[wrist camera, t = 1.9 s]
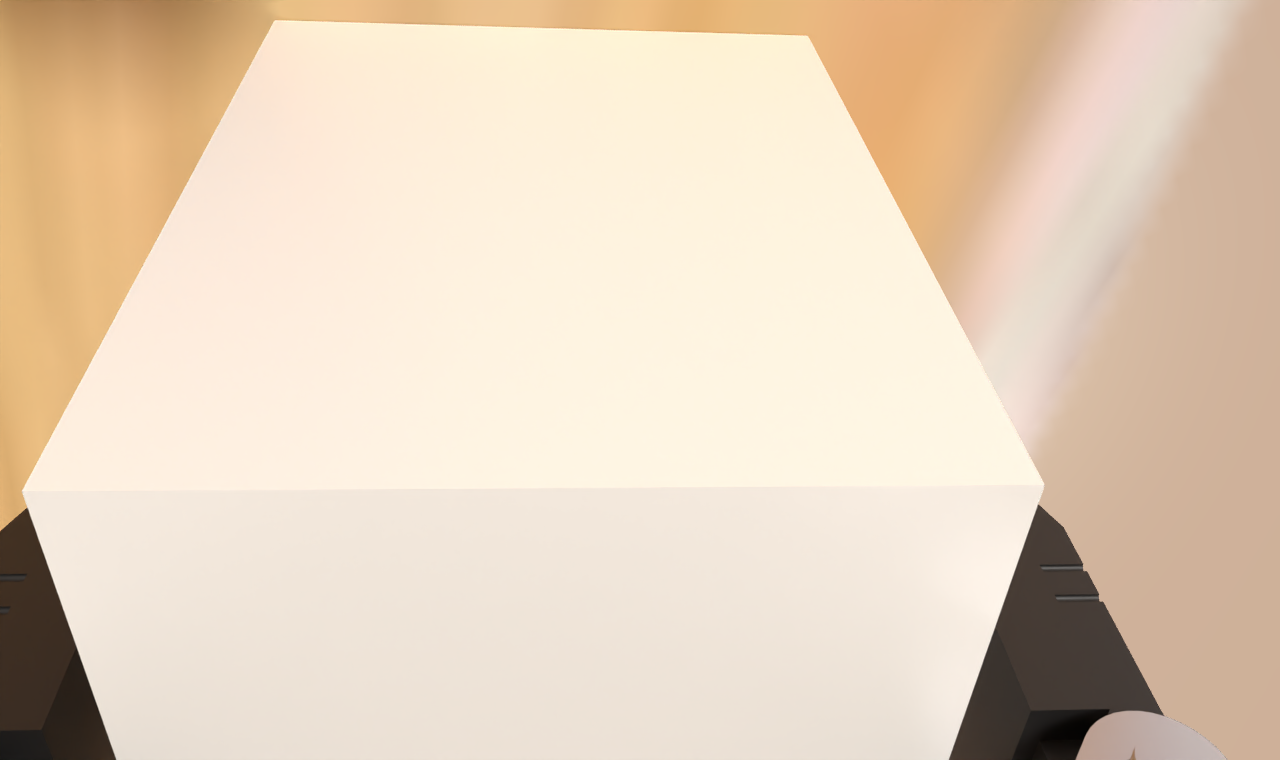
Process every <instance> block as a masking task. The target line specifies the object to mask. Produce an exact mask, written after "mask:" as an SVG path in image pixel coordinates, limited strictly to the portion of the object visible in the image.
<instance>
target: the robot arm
mask: <svg viewBox="0 0 1280 760" xmlns="http://www.w3.org/2000/svg"><path fill="white" fill-rule="evenodd" d="M0 760H116V757H115V754H114V752H113V749H112V746H111V743H110V740H109V737H108V734H107V732H106V729H105V726H104V723H103V720H102V717H101V715H100V712H99V709H98V706H97V703H96V700H95V698H94V695H93V692H92V689H91V686H90V683H89V681H88V678H87V675H86V672H85V669H84V666H83V664H82V661H81V658H80V655H79V652H78V649H77V646H76V644H75V641H74V638H73V635H72V632H71V629H70V627H69V624H68V621H67V618H66V615H65V612H64V610H63V607H62V604H61V601H60V598H59V595H58V593H57V590H56V587H55V584H54V581H53V578H52V576H51V573H50V570H49V567H48V564H47V561H46V558H45V556H44V553H43V550H42V547H41V544H40V541H39V539H38V536H37V533H36V530H35V527H34V524H33V522H32V519H31V516H30V513H29V510H28V507H27V508H26V509H25V510H24V511H23V512H22V513H21V514H19V515H18V516H17V517H16V518H15V519H14V520H13V521H11V522H10V523H9V524H8V525H7V526H6V527H5V528H3V529H2V530H1V531H0ZM949 760H1227V758H1226V757H1225V756H1224V755H1223V754H1222V753H1221V752H1220V751H1219V750H1218V749H1217V747H1216V746H1214V745H1213V744H1212V743H1211V742H1210V741H1209V740H1207V739H1206V738H1205V737H1203V736H1202V735H1201V734H1199V733H1198V732H1196V731H1195V730H1193V729H1192V728H1190V727H1188V726H1186V725H1184V724H1182V723H1180V722H1178V721H1176V720H1173V719H1170V718H1168V717H1165V716H1164V715H1163V713H1162V711H1161V710H1160V708H1159V706H1158V704H1157V702H1156V700H1155V698H1154V697H1153V695H1152V693H1151V691H1150V689H1149V687H1148V685H1147V683H1146V681H1145V680H1144V678H1143V676H1142V674H1141V672H1140V670H1139V668H1138V666H1137V665H1136V663H1135V661H1134V659H1133V657H1132V655H1131V654H1130V651H1129V650H1128V648H1127V646H1126V644H1125V642H1124V640H1123V638H1122V636H1121V634H1120V633H1119V631H1118V629H1117V627H1116V625H1115V623H1114V621H1113V620H1112V618H1111V616H1110V614H1109V612H1108V610H1107V608H1106V606H1105V604H1104V603H1103V602H1100V601H1099V593H1098V591H1097V589H1096V587H1095V586H1094V584H1093V582H1092V580H1091V578H1090V576H1089V574H1088V572H1087V571H1083V563H1082V561H1081V559H1080V557H1079V555H1078V554H1077V552H1076V550H1075V548H1074V546H1073V544H1072V543H1071V541H1070V539H1069V537H1068V535H1067V533H1066V531H1065V529H1064V527H1063V526H1061V525H1060V524H1059V523H1058V522H1057V521H1056V520H1055V519H1054V518H1053V517H1052V516H1050V515H1049V514H1048V513H1047V512H1046V511H1045V510H1044V509H1043V508H1042V507H1041V506H1039V505H1038V506H1037V509H1036V511H1035V514H1034V517H1033V520H1032V523H1031V526H1030V529H1029V532H1028V534H1027V537H1026V540H1025V543H1024V546H1023V549H1022V552H1021V554H1020V557H1019V560H1018V563H1017V566H1016V569H1015V572H1014V574H1013V577H1012V580H1011V583H1010V586H1009V589H1008V592H1007V594H1006V597H1005V600H1004V603H1003V606H1002V609H1001V612H1000V614H999V617H998V620H997V623H996V626H995V629H994V632H993V634H992V637H991V640H990V643H989V646H988V649H987V652H986V655H985V657H984V660H983V663H982V666H981V669H980V672H979V675H978V677H977V680H976V683H975V686H974V689H973V692H972V695H971V697H970V700H969V703H968V706H967V709H966V712H965V715H964V717H963V720H962V723H961V726H960V729H959V732H958V735H957V737H956V740H955V743H954V746H953V749H952V752H951V755H950V758H949Z"/></svg>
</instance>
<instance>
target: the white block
mask: <svg viewBox="0 0 1280 760" xmlns="http://www.w3.org/2000/svg"><path fill="white" fill-rule="evenodd" d="M1044 486H1045V485H1044V483H1043V481H1042V479H1041V477H1040V475H1039V473H1038V471H1037V469H1036V468H1035V466H1034V464H1033V462H1032V460H1031V458H1030V456H1029V454H1028V452H1027V450H1026V449H1025V447H1024V445H1023V443H1022V441H1021V439H1020V437H1019V435H1018V433H1017V432H1016V430H1015V428H1014V426H1013V424H1012V422H1011V420H1010V418H1009V416H1008V414H1007V413H1006V411H1005V409H1004V407H1003V405H1002V403H1001V401H1000V399H999V397H998V395H997V394H996V392H995V390H994V388H993V386H992V384H991V382H990V380H989V378H988V377H987V375H986V373H985V371H984V369H983V367H982V365H981V363H980V361H979V359H978V358H977V356H976V354H975V352H974V350H973V348H972V346H971V344H970V342H969V341H968V339H967V337H966V335H965V333H964V331H963V329H962V327H961V325H960V323H959V322H958V320H957V318H956V316H955V314H954V312H953V310H952V308H951V306H950V305H949V303H948V301H947V299H946V297H945V295H944V293H943V291H942V289H941V287H940V286H939V284H938V282H937V280H936V278H935V276H934V274H933V272H932V270H931V268H930V267H929V265H928V263H927V261H926V259H925V257H924V255H923V253H922V251H921V250H920V248H919V246H918V244H917V242H916V240H915V238H914V236H913V234H912V232H911V231H910V229H909V227H908V225H907V223H906V221H905V219H904V217H903V215H902V214H901V212H900V210H899V208H898V206H897V204H896V202H895V200H894V198H893V196H892V195H891V193H890V191H889V189H888V187H887V185H886V183H885V181H884V179H883V177H882V176H881V174H880V172H879V170H878V168H877V166H876V164H875V162H874V160H873V159H872V157H871V155H870V153H869V151H868V149H867V147H866V145H865V143H864V141H863V140H862V138H861V136H860V134H859V132H858V130H857V128H856V126H855V124H854V123H853V121H852V119H851V117H850V115H849V113H848V111H847V109H846V107H845V105H844V104H843V102H842V100H841V98H840V96H839V94H838V92H837V90H836V88H835V86H834V85H833V83H832V81H831V79H830V77H829V75H828V73H827V71H826V69H825V68H824V66H823V64H822V62H821V60H820V58H819V56H818V54H817V52H816V50H815V49H814V47H813V45H812V43H811V41H810V39H809V37H808V36H799V35H765V34H730V33H696V32H662V31H627V30H593V29H559V28H525V27H490V26H456V25H422V24H387V23H353V22H319V21H284V20H275V21H274V22H273V24H272V26H271V28H270V30H269V32H268V34H267V35H266V37H265V39H264V41H263V43H262V45H261V47H260V49H259V50H258V52H257V54H256V56H255V58H254V60H253V62H252V63H251V65H250V67H249V69H248V71H247V73H246V75H245V76H244V78H243V80H242V82H241V84H240V86H239V88H238V90H237V91H236V93H235V95H234V97H233V99H232V101H231V103H230V104H229V106H228V108H227V110H226V112H225V114H224V116H223V117H222V119H221V121H220V123H219V125H218V127H217V129H216V131H215V132H214V134H213V136H212V138H211V140H210V142H209V144H208V145H207V147H206V149H205V151H204V153H203V155H202V157H201V158H200V160H199V162H198V164H197V166H196V168H195V170H194V171H193V173H192V175H191V177H190V179H189V181H188V183H187V185H186V186H185V188H184V190H183V192H182V194H181V196H180V198H179V199H178V201H177V203H176V205H175V207H174V209H173V211H172V212H171V214H170V216H169V218H168V220H167V222H166V224H165V226H164V227H163V229H162V231H161V233H160V235H159V237H158V239H157V240H156V242H155V244H154V246H153V248H152V250H151V252H150V253H149V255H148V257H147V259H146V261H145V263H144V265H143V267H142V268H141V270H140V272H139V274H138V276H137V278H136V280H135V281H134V283H133V285H132V287H131V289H130V291H129V293H128V294H127V296H126V298H125V300H124V302H123V304H122V306H121V308H120V309H119V311H118V313H117V315H116V317H115V319H114V321H113V322H112V324H111V326H110V328H109V330H108V332H107V334H106V335H105V337H104V339H103V341H102V343H101V345H100V347H99V349H98V350H97V352H96V354H95V356H94V358H93V360H92V362H91V363H90V365H89V367H88V369H87V371H86V373H85V375H84V376H83V378H82V380H81V382H80V384H79V386H78V388H77V390H76V391H75V393H74V395H73V397H72V399H71V401H70V403H69V404H68V406H67V408H66V410H65V412H64V414H63V416H62V417H61V419H60V421H59V423H58V425H57V427H56V429H55V431H54V432H53V434H52V436H51V438H50V440H49V442H48V444H47V445H46V447H45V449H44V451H43V453H42V455H41V457H40V458H39V460H38V462H37V464H36V466H35V468H34V470H33V472H32V473H31V475H30V477H29V479H28V481H27V483H26V485H25V486H24V488H23V490H22V493H23V496H24V499H25V502H26V505H27V507H28V510H29V513H30V516H31V519H32V522H33V524H34V527H35V530H36V533H37V536H38V539H39V541H40V544H41V547H42V550H43V553H44V556H45V558H46V561H47V564H48V567H49V570H50V573H51V576H52V578H53V581H54V584H55V587H56V590H57V593H58V595H59V598H60V601H61V604H62V607H63V610H64V612H65V615H66V618H67V621H68V624H69V627H70V629H71V632H72V635H73V638H74V641H75V644H76V646H77V649H78V652H79V655H80V658H81V661H82V664H83V666H84V669H85V672H86V675H87V678H88V681H89V683H90V686H91V689H92V692H93V695H94V698H95V700H96V703H97V706H98V709H99V712H100V715H101V717H102V720H103V723H104V726H105V729H106V732H107V734H108V737H109V740H110V743H111V746H112V749H113V752H114V754H115V757H116V760H949V758H950V755H951V752H952V749H953V746H954V743H955V740H956V737H957V735H958V732H959V729H960V726H961V723H962V720H963V717H964V715H965V712H966V709H967V706H968V703H969V700H970V697H971V695H972V692H973V689H974V686H975V683H976V680H977V677H978V675H979V672H980V669H981V666H982V663H983V660H984V657H985V655H986V652H987V649H988V646H989V643H990V640H991V637H992V634H993V632H994V629H995V626H996V623H997V620H998V617H999V614H1000V612H1001V609H1002V606H1003V603H1004V600H1005V597H1006V594H1007V592H1008V589H1009V586H1010V583H1011V580H1012V577H1013V574H1014V572H1015V569H1016V566H1017V563H1018V560H1019V557H1020V554H1021V552H1022V549H1023V546H1024V543H1025V540H1026V537H1027V534H1028V532H1029V529H1030V526H1031V523H1032V520H1033V517H1034V514H1035V511H1036V509H1037V506H1038V503H1039V500H1040V497H1041V494H1042V491H1043V488H1044Z"/></svg>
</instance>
